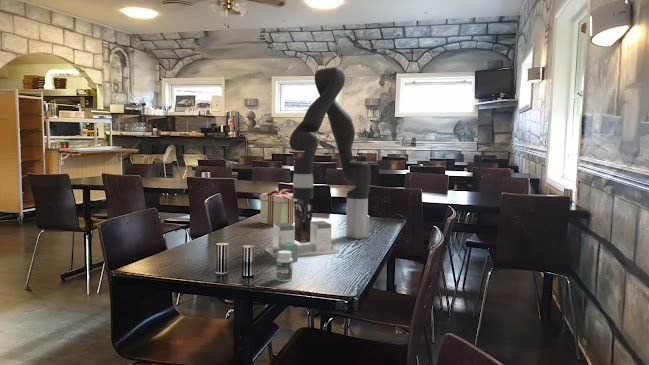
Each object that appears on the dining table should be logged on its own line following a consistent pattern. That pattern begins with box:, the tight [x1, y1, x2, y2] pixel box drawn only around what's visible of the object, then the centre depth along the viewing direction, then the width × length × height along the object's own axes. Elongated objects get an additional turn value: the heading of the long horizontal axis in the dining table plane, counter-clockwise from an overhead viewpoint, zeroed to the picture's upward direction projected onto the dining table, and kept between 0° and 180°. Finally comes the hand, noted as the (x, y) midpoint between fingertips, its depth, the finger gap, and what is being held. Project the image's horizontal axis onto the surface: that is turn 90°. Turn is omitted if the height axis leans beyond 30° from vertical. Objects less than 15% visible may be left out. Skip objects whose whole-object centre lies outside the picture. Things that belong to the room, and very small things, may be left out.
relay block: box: [279, 242, 298, 263], centre depth 165 cm, size 5×4×6 cm
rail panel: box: [265, 220, 340, 259], centre depth 179 cm, size 25×12×11 cm, turn 112°
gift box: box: [259, 188, 297, 226], centre depth 243 cm, size 17×18×17 cm
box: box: [294, 209, 312, 244], centre depth 179 cm, size 6×4×12 cm
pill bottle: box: [275, 250, 293, 283], centre depth 143 cm, size 5×5×8 cm
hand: (302, 230), depth 179 cm, fingers closed on box, 6 cm apart
